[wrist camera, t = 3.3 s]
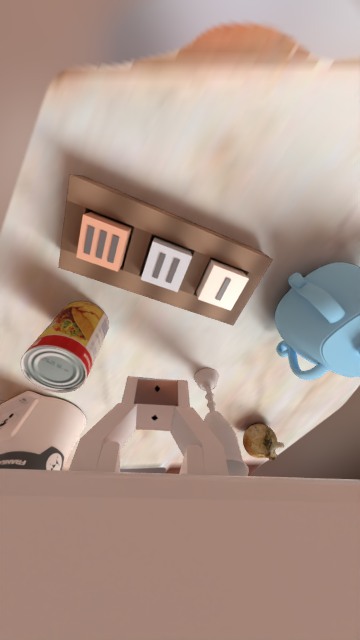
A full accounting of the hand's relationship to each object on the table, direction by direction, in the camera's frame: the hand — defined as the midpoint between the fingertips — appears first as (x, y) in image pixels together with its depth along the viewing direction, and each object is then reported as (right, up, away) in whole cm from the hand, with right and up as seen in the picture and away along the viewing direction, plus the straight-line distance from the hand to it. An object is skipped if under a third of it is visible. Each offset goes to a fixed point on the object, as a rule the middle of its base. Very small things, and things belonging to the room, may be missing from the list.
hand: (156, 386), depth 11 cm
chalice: (+7, -8, +35) cm, 36 cm away
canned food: (-15, +3, +27) cm, 31 cm away
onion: (+20, -23, +44) cm, 54 cm away
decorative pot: (+24, +6, +27) cm, 37 cm away
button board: (-1, +13, +22) cm, 25 cm away
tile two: (-1, +11, +19) cm, 22 cm away
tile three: (-8, +14, +17) cm, 23 cm away
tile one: (+7, +9, +20) cm, 23 cm away
